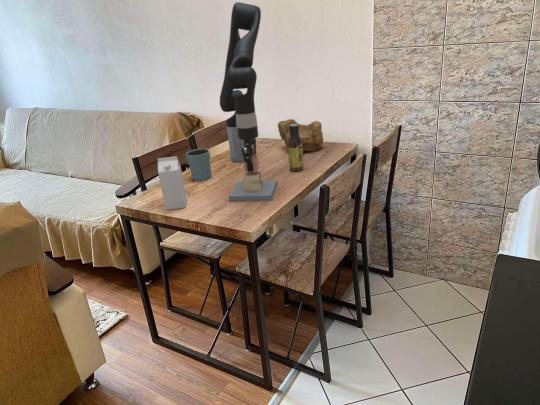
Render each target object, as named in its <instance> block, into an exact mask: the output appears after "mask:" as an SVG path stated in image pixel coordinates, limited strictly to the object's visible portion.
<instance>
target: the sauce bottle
mask: <svg viewBox="0 0 540 405" xmlns="http://www.w3.org/2000/svg"><path fill="white" fill-rule="evenodd" d="M298 124H299V123H298ZM298 124H292V125H289V129H290V138H289V140H288V150H287V153H288V152H289V153H288V163H289V166H288V167H289V170H290V171H291V172H299V171H302V170H303V169H304V151H303V147H302V141H301V138H300V136H299V129H298V128H299V125H298Z"/></svg>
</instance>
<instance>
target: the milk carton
mask: <svg viewBox="0 0 540 405" xmlns="http://www.w3.org/2000/svg"><path fill="white" fill-rule="evenodd" d="M182 171H183V170H182V166H181V163H180V160H179V159H178V156H169V157H160V158H159V157H158V158H157V174H158V180H159V183H160V188H161V193H162V197H163V203H164V208H165V210H167V211H168V209H170V210H177V209H185V208H186V205H187V201H188V200H187V199H188V198H187V192H186V188H185V183H184V182H185V181H184V177H183V172H182Z"/></svg>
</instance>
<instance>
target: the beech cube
mask: <svg viewBox="0 0 540 405" xmlns="http://www.w3.org/2000/svg"><path fill="white" fill-rule="evenodd" d="M262 174H263V173H262V170H258V171H257V172H245V171H244V173H243V175H242V181H243V182H244V190H245V191H260V189H261V187H262V185H263V183H262V180H263V176H262Z"/></svg>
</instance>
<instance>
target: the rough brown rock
mask: <svg viewBox="0 0 540 405" xmlns="http://www.w3.org/2000/svg"><path fill="white" fill-rule="evenodd" d="M292 124H298V125H299V128H298V129H299V136H300V138H301V141H302V147H303V152H305V151H308V152H315V151H317V150H319V149H320V148H321V147H323V144H324V137H323V131H322V123H321V122H320V121H319V120H317V121H315V120H314V121H312V122H311V123H308V124H302V123H298V122H297V121H296V120H295V119H291V118H290V119H289V118H288V119H287V120H281V121H279V122H278V123H277V127H278V133H279V135H280V138H281V140H282V141H284V144H285V145H286V150H287V154H289V152H288V140H289V138H290V129H289V125H292Z"/></svg>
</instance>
